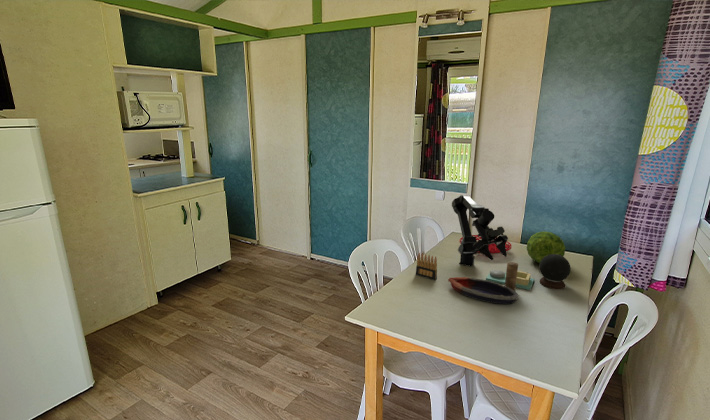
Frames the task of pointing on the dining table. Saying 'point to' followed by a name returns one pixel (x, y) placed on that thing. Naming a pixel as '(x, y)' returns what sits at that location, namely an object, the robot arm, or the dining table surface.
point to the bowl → (492, 245)
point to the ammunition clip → (426, 267)
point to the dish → (483, 290)
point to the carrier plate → (521, 281)
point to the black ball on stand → (554, 271)
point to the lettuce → (544, 245)
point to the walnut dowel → (511, 275)
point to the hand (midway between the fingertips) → (499, 258)
